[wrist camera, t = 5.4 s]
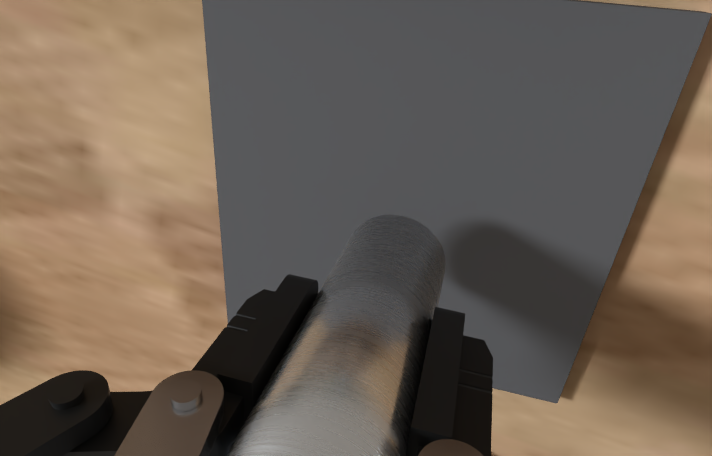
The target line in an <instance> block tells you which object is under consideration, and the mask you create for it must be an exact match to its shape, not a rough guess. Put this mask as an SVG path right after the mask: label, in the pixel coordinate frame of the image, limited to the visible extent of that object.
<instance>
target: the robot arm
mask: <svg viewBox="0 0 712 456" xmlns="http://www.w3.org/2000/svg"><path fill="white" fill-rule="evenodd" d="M317 295H318V281H317V280H314V279H309V278H305V277H300V276H295V275H291V274H288V275H287V276H286V277H285V278H284V280H283V281H282V283H281V284H280V285H279V287H278V288H277V290H276V291H275V292H274V291H270V290H266V289H263V290H262V291H260V292H258V293H257V294H255V295H253V296H252V297H250V298H248V299H247V300H246V301H245V302H244V304H243V305H242V306H241V308H240V309H239V310H238V311H237V313H236V316H234V317H233V318H232V319H231V320H230V322H229V323H228V324H227V328H224V329H223V331H222V332H221V333H220V335H219V336H218V337H217V339H216V340H215V341H214V342H213V344H212V345H211V346H210V348H209V349H208V350H207V351H206V353H205V354H204V355H203V357H202V358H201V359H200V360H199V362H198V363H197V364H196V366H195V367H194V368H193V369H192V371H184V372H180V373H177V374H174V375H172V376H170V377H168V378H166V379H165V380H163V381H162V382H161V383H159V384H158V385H157V386H156V387H155V389H154V390H153V391H145V392H110V390H109V386H108V383H107V381H106V379H105V378H104V377H103V376H102V375H100V374H98V373H96V372H92V371H73V372H68V373H64V374H62V375H59V376H56V377H54V378H52V379H50V380H48V381H46V382H44V383H42V384H40V385H38V386H37V387H35V388H33V389H31V390H29V391H27V392H25V393H23V394H21V395H19V396H17V397H15V398H13V399H12V400H10V401H8V402H6V403H4V404H2V405H0V456H226V454H227V453H228V451H229V449H230V447H231V445H232V444H233V442H234V440H235V438H236V437H237V435H238V433H239V431H240V430H241V428H242V426H243V424H244V423H245V421H246V419H247V417H248V416H249V414H250V412H251V410H252V409H253V407H254V405H255V403H256V402H257V400H258V398H259V396H260V395H261V393H262V391H263V389H264V388H265V386H266V384H267V382H268V381H269V379H270V377H271V375H272V374H273V372H274V370H275V368H276V367H277V365H278V363H279V361H280V360H281V358H282V356H283V354H284V353H285V351H286V349H287V347H288V346H289V344H290V342H291V340H292V339H293V337H294V335H295V333H296V332H297V330H298V328H299V326H300V325H301V323H302V321H303V319H304V318H305V316H306V314H307V312H308V311H309V309H310V307H311V305H312V304H313V302H314V300H315V298H316V297H317ZM464 323H465V313H461V312H457V311H452V310H448V309H443V308H439V307H435V310H434V315H433V319H432V324H431V329H430V334H429V339H428V344H427V349H426V354H425V359H424V364H423V369H422V374H421V379H420V384H419V389H418V394H417V399H416V404H415V409H414V414H413V419H412V424H411V429H410V434H409V439H408V444H407V449H406V454H407V456H491V425H492V384H493V379H492V377H493V356H492V354H491V352H490V350H489V348H488V346H487V345H486V343H485V341H484V340H482V339H477V338H473V337H469V336H464V335H463V332H464Z"/></svg>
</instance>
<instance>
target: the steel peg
mask: <svg viewBox="0 0 712 456" xmlns="http://www.w3.org/2000/svg"><path fill="white" fill-rule="evenodd" d="M445 267H446V259H445V253H444V250H443V247H442V245H441V243H440V241H439V240H438V239H437V237H436V236H435V235H434V234H433V232H432V231H431V230H429V229H428V228H427V227H426V226H424V225H423V224H421V223H420V222H418V221H416V220H414V219H411V218H408V217H405V216H400V215H381V216H377V217H374V218H371V219H369V220H367V221H365V222H363V223H362V224H361V225H360V226H358V228H357V229H356V230H355V231H354V232H353V234H352V235H351V237H350V239H349V241H348V242H347V244H346V246H345V248H344V249H343V251H342V253H341V255H340V256H339V258H338V260H337V262H336V263H335V265H334V267H333V269H332V270H331V272H330V274H329V276H328V277H327V279H326V281H325V283H324V284H323V286H322V288H321V290H320V291H319V293H318V295H317V297H316V298H315V300H314V302H313V304H312V305H311V307H310V309H309V311H308V312H307V314H306V316H305V318H304V319H303V321H302V323H301V325H300V326H299V328H298V330H297V332H296V333H295V335H294V337H293V339H292V340H291V342H290V344H289V346H288V347H287V349H286V351H285V353H284V354H283V356H282V358H281V360H280V361H279V363H278V365H277V367H276V368H275V370H274V372H273V374H272V375H271V377H270V379H269V381H268V382H267V384H266V386H265V388H264V389H263V391H262V393H261V395H260V396H259V398H258V400H257V402H256V403H255V405H254V407H253V409H252V410H251V412H250V414H249V416H248V417H247V419H246V421H245V423H244V424H243V426H242V428H241V430H240V431H239V433H238V435H237V437H236V438H235V440H234V442H233V444H232V445H231V447H230V449H229V451H228V453H227V454H226V456H407V454H406V449H407V444H408V439H409V434H410V429H411V424H412V419H413V414H414V409H415V404H416V399H417V394H418V389H419V384H420V379H421V374H422V369H423V364H424V359H425V354H426V349H427V344H428V339H429V334H430V329H431V324H432V319H433V315H434V310H435V307H438V304H439V299H440V294H441V289H442V284H443V278H444V273H445Z"/></svg>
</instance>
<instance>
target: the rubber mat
mask: <svg viewBox="0 0 712 456" xmlns="http://www.w3.org/2000/svg"><path fill="white" fill-rule="evenodd" d="M202 4H203V17H204V29H205V42H206V54H207V67H208V79H209V92H210V104H211V117H212V129H213V142H214V154H215V167H216V179H217V192H218V204H219V217H220V229H221V242H222V255H223V267H224V280H225V292H226V305H227V317H228V323H229V322H230V320H231V319H232V318H233V317H234V316H236V313H237V311H238V310H239V309H240V308H241V306H242V305H243V304H244V302H245V301H246V300H247V299H248V298H250V297H252V296H253V295H255V294H257V293H258V292H260V291H262V290H263V289H266V290H270V291H274V292H275V291H276V290H277V288H278V287H279V285H280V284H281V283H282V281H283V280H284V278H285V277H286V276H287V275H288V274H291V275H295V276H300V277H305V278H309V279H314V280H317V281H318V293H319V291H320V290H321V288H322V286H323V284H324V283H325V281H326V279H327V277H328V276H329V274H330V272H331V270H332V269H333V267H334V265H335V263H336V262H337V260H338V258H339V256H340V255H341V253H342V251H343V249H344V248H345V246H346V244H347V242H348V241H349V239H350V237H351V235H352V234H353V232H354V231H355V230H356V229H357V228H358V226H360V225H361V224H362V223H363V222H365V221H367V220H369V219H371V218H374V217H377V216H381V215H400V216H405V217H408V218H411V219H414V220H416V221H418V222H420V223H421V224H423V225H424V226H426V227H427V228H428V229H429V230H431V231H432V232H433V234H434V235H435V236H436V237H437V239H438V240H439V241H440V243H441V245H442V247H443V250H444V253H445V259H446V267H445V273H444V278H443V284H442V289H441V294H440V299H439V304H438V307H439V308H443V309H448V310H452V311H457V312H461V313H465V323H464V332H463V335H464V336H469V337H473V338H477V339H482V340H484V341H485V343H486V345H487V346H488V348H489V350H490V352H491V354H492V356H493V377H492V379H493V384H492V388H495V389H499V390H503V391H507V392H511V393H515V394H520V395H524V396H528V397H532V398H536V399H540V400H545V401H549V402H553V403H558V400H559V398H560V395H561V393H562V390H563V388H564V385H565V383H566V380H567V378H568V375H569V373H570V370H571V367H572V365H573V362H574V360H575V357H576V355H577V352H578V350H579V347H580V345H581V342H582V340H583V337H584V335H585V332H586V330H587V327H588V325H589V322H590V320H591V317H592V315H593V312H594V310H595V307H596V305H597V302H598V299H599V297H600V294H601V292H602V289H603V287H604V284H605V282H606V279H607V277H608V274H609V272H610V269H611V267H612V264H613V262H614V259H615V257H616V254H617V252H618V249H619V247H620V244H621V242H622V239H623V237H624V234H625V231H626V229H627V226H628V224H629V221H630V219H631V216H632V214H633V211H634V209H635V206H636V204H637V201H638V199H639V196H640V194H641V191H642V189H643V186H644V184H645V181H646V179H647V176H648V174H649V171H650V168H651V166H652V163H653V161H654V158H655V156H656V153H657V151H658V148H659V146H660V143H661V141H662V138H663V136H664V133H665V131H666V128H667V126H668V123H669V121H670V118H671V116H672V113H673V111H674V108H675V106H676V103H677V100H678V98H679V95H680V93H681V90H682V88H683V85H684V83H685V80H686V78H687V75H688V73H689V70H690V68H691V65H692V63H693V60H694V58H695V55H696V53H697V50H698V48H699V45H700V43H701V40H702V37H703V35H704V32H705V30H706V27H707V25H708V22H709V20H710V17H711V15H712V14H711V13H707V12H702V11H690V10H679V9H668V8H657V7H646V6H635V5H624V4H613V3H602V2H591V1H580V0H202Z"/></svg>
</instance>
